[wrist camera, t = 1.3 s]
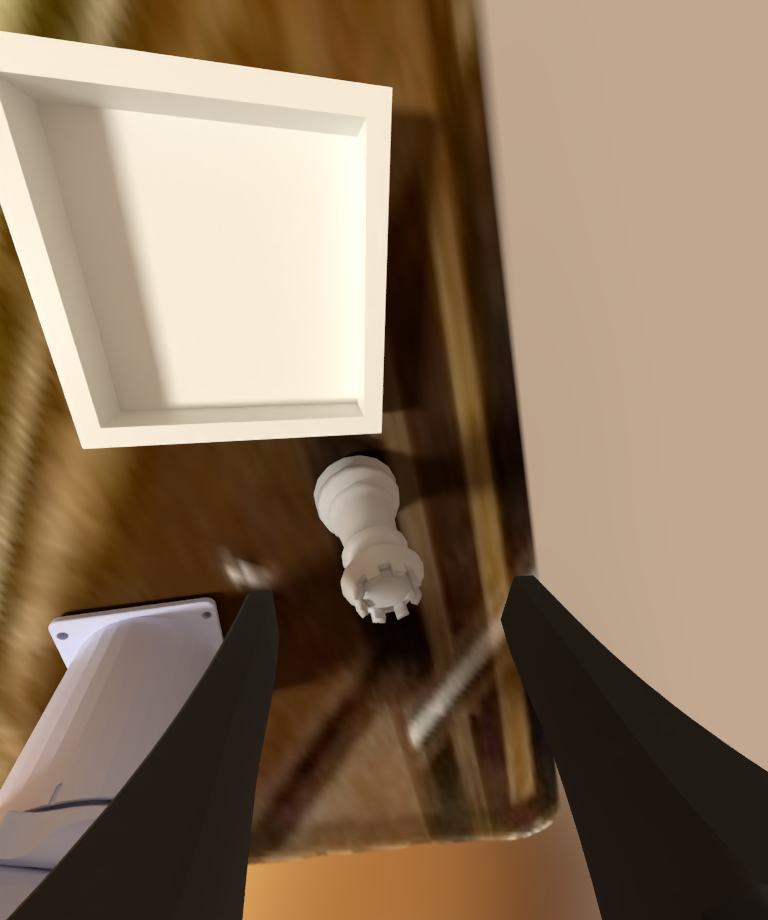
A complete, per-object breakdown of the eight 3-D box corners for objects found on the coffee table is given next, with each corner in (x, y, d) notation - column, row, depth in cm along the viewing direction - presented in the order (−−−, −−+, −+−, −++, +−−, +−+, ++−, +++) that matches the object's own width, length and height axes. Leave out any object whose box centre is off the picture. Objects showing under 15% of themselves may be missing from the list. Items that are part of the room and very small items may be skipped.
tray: (370, 414, 19) (381, 432, 17) (109, 426, 17) (82, 448, 15) (376, 116, 14) (392, 87, 12) (4, 69, 12) (-60, 22, 10)
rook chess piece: (329, 533, 22) (349, 658, 15) (300, 468, 20) (308, 577, 13) (403, 506, 22) (457, 615, 15) (382, 439, 20) (433, 529, 13)
